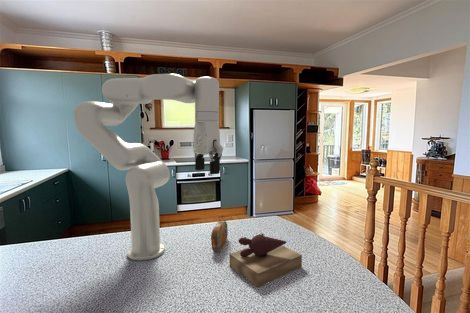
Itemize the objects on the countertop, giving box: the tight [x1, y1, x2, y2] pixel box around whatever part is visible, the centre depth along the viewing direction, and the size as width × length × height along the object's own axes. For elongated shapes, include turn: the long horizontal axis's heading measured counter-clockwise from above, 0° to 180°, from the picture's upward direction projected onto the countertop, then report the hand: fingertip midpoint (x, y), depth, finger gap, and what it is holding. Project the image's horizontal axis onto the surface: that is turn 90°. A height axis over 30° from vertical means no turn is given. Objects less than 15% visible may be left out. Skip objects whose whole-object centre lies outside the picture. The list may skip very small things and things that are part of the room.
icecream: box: [238, 233, 287, 257], centre depth 79 cm, size 7×7×15 cm
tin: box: [210, 220, 229, 252], centre depth 95 cm, size 15×3×8 cm, turn 168°
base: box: [229, 245, 303, 288], centre depth 80 cm, size 14×18×4 cm
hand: (207, 171), depth 81 cm, fingers open, 9 cm apart
